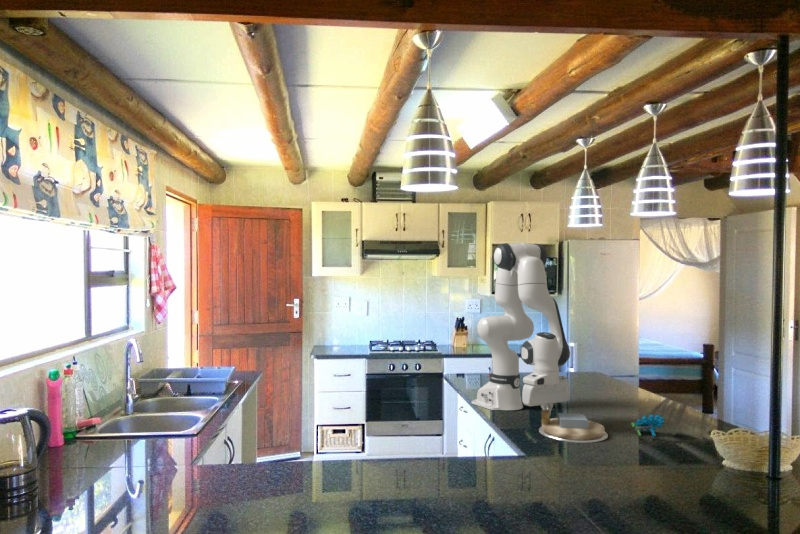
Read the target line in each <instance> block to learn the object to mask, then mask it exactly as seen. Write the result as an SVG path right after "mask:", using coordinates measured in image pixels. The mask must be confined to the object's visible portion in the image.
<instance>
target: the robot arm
mask: <svg viewBox="0 0 800 534" xmlns="http://www.w3.org/2000/svg"><path fill="white" fill-rule="evenodd" d="M547 260H548V252H547V249H546V247H545V246H544V245H541V244H538V243H528V242H515V243H500V244H498V245H497V246H496V247H495V249H494V250H493V262H494V265H495V266H496V268H497V270H496V276H495V277H496V278H495V286H494V287H495V289H494V300H495V302H496V304H497V305H499V306H500V307H501V308H502V309H503V310H504V315H488V316H484V317H481V318H480V319H479V320H478V323H477V325H476V333H477V334H478V336H479V338H480V339H481V340H482V341H484V342H485V344H486V345H487V346H488V348H489V350H490V353H491V354H490V355H491V360H492V372H491V373H490V374H487V378H489V380H488V382H486V383H485V384H484V385H483V386H481V387H479V389H478V391H477V392H476V393H477V394H476V398H475V399H473V400H471V404H472V405H475V406H478V407H481V408H484V409H488V410H490V411H519V410H522V409H523V408H524V406H528V407H535V406H540V408H541V409H542V410H546V411H550V416H551V411H552V410H553V407H554V404H556V403H564V402H569V401H570V399H571V393H570V385H569V379H568V378H567V377H566V376H565V375H561V376H560V368H559V367H562V366H564V365H565V364H566V363H567V362H568V361H569V359H570V358H571V357H570V356H571V351H570V346H569V345H568V342H567V339H566V335H565V332H564V330H565V329H564V326H563V322H562V321H563V320H562V318H561V314H560V309H559V307H558V302H557V301H556V299H555V298H554V297H552V296H551V294H550V292H549V289H548V282H547V275H546V274H547V273H546V269H545V265H546V263H547ZM523 305H525V306H526V307H528V308H530V309H532V310H534V311H538V312H540V314H542V315H544V317H545V318H546V319H547V323H548V328H549V332H537V333H536V334H535V335H534V337H533V338H532V336H533V334H534V330H535V326H534V322H533V320H532V319H531V317H529V316H528V315H527V314H526V312H525V310H524V308H523ZM530 338H532V339H530ZM527 339H528V340H527ZM523 340H525V341H524V342H523V343H522V345H521V346H520V357H519V355H518V353H517V352H515V351H514V350H512V349H510V347H509V344H508V342H513V341H514V342H515V341H519V342H520V341H523ZM519 358H520V359H521V360H522V361H523V362H524V363H525V364H526V365H530V366H533V367H534V369H533V372H531V373H529V374H528V375H526V376H523V379H522V382H523V383H524V384H523V387H522V391H520V390H521V389H520V385H521V374H520V364H519V363H520V359H519ZM521 392H522V396H521ZM523 405H524V406H523ZM542 410H541V411H542Z"/></svg>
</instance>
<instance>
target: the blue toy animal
mask: <svg viewBox="0 0 800 534" xmlns="http://www.w3.org/2000/svg"><path fill="white" fill-rule="evenodd" d="M664 424H665V418H664V417H663V416H660V415H659V414H655V416H654V415H653V414H649V415H648V417H647V416H646V415H643V416H642V417H641V419H639V418H637V420H636V422H631V426H632V428H634V429H635V431H637V434H638V436H639V437H641V436H642V433H641V432H644V431H645V432H650V433H651V435H652V437H653V438H654V437H657V435H656V433H655V431H656V430H657V428H662V425H664Z"/></svg>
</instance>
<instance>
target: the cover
mask: <svg viewBox="0 0 800 534" xmlns="http://www.w3.org/2000/svg"><path fill="white" fill-rule="evenodd" d="M557 418H558V423H559V425H560V427H561V428H575V429H588V418H587V417H586V416H585V414H584V413H571V412H570V413H569V412H568V413H565V412H557Z"/></svg>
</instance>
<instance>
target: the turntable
mask: <svg viewBox="0 0 800 534" xmlns="http://www.w3.org/2000/svg"><path fill="white" fill-rule="evenodd" d="M550 417H551V415H550V411H546V410H541V427H542V430H543V431H544V432H545V433H547V434H549V435H552V436H555V437H560V438H566V439H575V440H591V439H598V438H601V437H603V436H604V435H605V432H606V429H605V426H604V425H603V424H601V423H598V422H596V421H593V420H588V419H587V420H588V429H575V428H561V427H560V425H559V423H558V417H553V418H550Z"/></svg>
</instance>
